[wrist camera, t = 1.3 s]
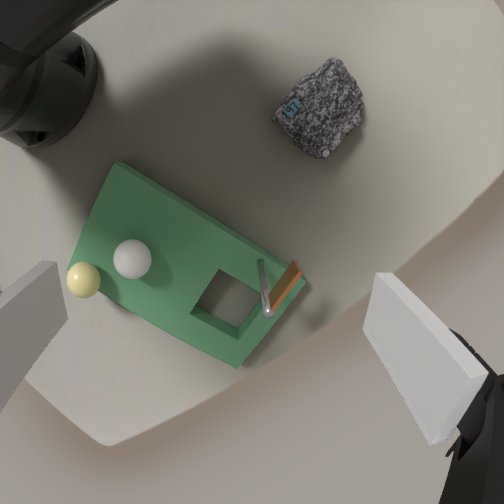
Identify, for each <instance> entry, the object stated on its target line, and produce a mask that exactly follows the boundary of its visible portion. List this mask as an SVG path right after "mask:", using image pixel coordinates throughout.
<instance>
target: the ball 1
mask: <svg viewBox="0 0 504 504" xmlns="http://www.w3.org/2000/svg"><path fill="white" fill-rule="evenodd" d="M100 282H101V279H100V274H99V272H98V270H97V268H96V267H95V266H94V265H92V264H91V263H88V262H78V263H76V264H74V265H73V266H72V267H71V268H70V270H69V271H68V274H67V285H68V288H69V290H70V291H71V292H72V293H73V294H74V295H75V296H77V297H80V298H88V297H91V296H93V295H94V294H95V293H96V292H97V291H98V289H99V287H100Z"/></svg>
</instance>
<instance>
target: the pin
mask: <svg viewBox="0 0 504 504" xmlns="http://www.w3.org/2000/svg"><path fill="white" fill-rule="evenodd" d="M257 269H258V276H259V283H260V291H261V298H262V305H263V312H264V317H265V318H267V319H271V318H273V317H274V316H275V309H276V308H277V307H278V305H279V304H280V303H281V302H282V300H283V299H284V298H285V296H286V295H287V294H288V292H289V291H290V290H291V288H292V287H293V286H294V284H295V283H296V282H297V280H298V279H299V278H300V276H301V275H302V272H301V270H300V268H299V266H298V264H297V262H296V261H294V260H293V261H292V263H291V264H290V266H289V267H288V268H287V270H286V271H285V272H284V274H283V275H282V276H281V278H280V279H279V281H278V282H277V283H276V285H275V286H274V287H273V289H272V290H271V291H270V287H269V282H268V277H267V273H266V268H265V263H264V260H263V259H258V260H257Z"/></svg>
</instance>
